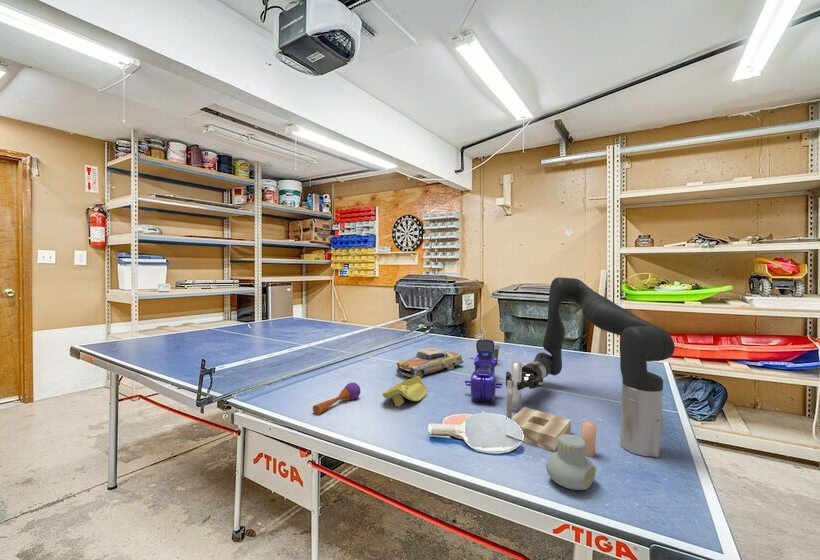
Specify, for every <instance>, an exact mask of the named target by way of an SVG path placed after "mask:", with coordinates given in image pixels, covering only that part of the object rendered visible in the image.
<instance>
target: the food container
mask: <svg viewBox="0 0 820 560" xmlns="http://www.w3.org/2000/svg"><path fill="white" fill-rule="evenodd" d="M500 346H501V345H500V344H494V352H493V354H492V355H493V356H494V358H495V359H499V351H500V349H501V347H500ZM478 354H479V353H477V355H478ZM482 354H484V355H485V353H482ZM487 355H488V354H487ZM498 361H499V360H496V366H497V365H498Z"/></svg>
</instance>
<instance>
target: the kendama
mask: <svg viewBox="0 0 820 560" xmlns="http://www.w3.org/2000/svg"><path fill="white" fill-rule="evenodd" d="M360 394H361V387H360V385H359V384H358V383H357V382H349V383H347V384H346V385H345V387H344V388H343V389H342V390H341V391H340V393H339V394H338V396H336V397H334V398H331V399H327V400H326V401H323V402H319V403H316V404H314V405H313V407H312V411H313V414H314V415H317V416H320V414H321V413H323V412H324V411H326V410H327V409H328V408H330V407H332V406H333V405H334V404H336V403H337V402H338V401H349V400H350V401H351V400H352V401H353V400H357V399H358V398H359V397H360Z"/></svg>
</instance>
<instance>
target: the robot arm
mask: <svg viewBox="0 0 820 560" xmlns="http://www.w3.org/2000/svg"><path fill="white" fill-rule="evenodd" d="M548 292H549V294H548V306H547V321H546V322H547V324H546V328H545V333H544V338H543V341H542V348H543V349H544V351H547V352H548V353H549V354H548V353H546V352H538V353H537V354H536V356H535V357H534V360H533V361H530V362H528V363H526V364H524V365H523V366H522V380H521V382H519V383H518V384H517V390H521V391H522V390H524V389H527V388H528V389H530V390H534V389H539V388H542V387H543V386H544V379H545V378H546V377H548V376H549V375H551V376H557V375H559V374H560V373H561V372H562V368H563V359H562V349H563V348H562V347H563V345H564V341H565V340H564V339H565V335H566V334H565V333H566V332H565V331H566V329H565V326H564V323H563V320H562V317H561V315H560V314H561V313H560V306H561V303H573V304H578V305H579V306H581V311H582V315H583V318H585V319H586V320H587V321H588V322H589V323H591V324H592V325H593V326H595V327H596V328H597V329H600V330H601V331H604V332H608V333H610V334H613V335H617V336H619V337H620V339H619V359H620V360H619V363H620V364H619V365H620V367H619V369H620V372H621V377H622V384H621V386H622V387H621V407H620V408H621V409H620V410H621V412H620V430H619V431H620V435H619V445H620V446H621V448H623V450H624V449H625V450H626V451H627V452H630V453H633V454H634V455H635V454H636V455H639V456H643V457H653V458H659V457H660V454H661V450H662V435H663V434H662V432H663V398H664V397H663V396H664V395H663V394H664V392H663V391H664V380H663V378H662V377H661V375H660V376H659V374H656V373H654V372H650V371H648V364H647V362H660V361H664V360H668V359H670V358H671V357H672V356H673V355H674V352H675V350H676V349H675V348H676V346H675V342H674V339H673V337H672V336H671V335H670V333H669V332H668V331H667V330H665V329H664V328H663V327H660V326H658V325H656V324H654V323H651V322H649V321H647V320H644V319H643V318H640V317H639V316H637V315H634V314H633V313H631V312H630V311H628V310H627V309H625V308H623V307H621V306H620V305H618V304H617V303H616V302H614V301H612V300H610V299H609V298H607V297H605V296H603V295H601V294H600V293H598V292H596V291H594V290H593V289H592V288H590V287H589V286H588V285H587V284H586V283H585V282H583V281H582V280H580V279H578V278H576V277H575V278H573V277H572V278H571V277H560V276H559V277H558V276H557V277H555V278H554V279H553V280H552V281H551V284H550V287H549V291H548ZM505 373H506V374H505V386H506V388H507V381H512V372H510V371H506V372H505Z"/></svg>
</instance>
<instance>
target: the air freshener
mask: <svg viewBox="0 0 820 560" xmlns="http://www.w3.org/2000/svg"><path fill="white" fill-rule="evenodd" d="M545 469H546V472H547V475H548V476H549V478H551V479H552V480H553V482H554V483H557V485H559V486H561V487H563V488H566V489H570V490H574V491H583V490H588V488H590V487H591V485H592V483H594V479H595V477H596V473H597V469H596V466H595V465H594V463H593V462H592V461H591V459H589V458H588V457H587V456H586V442H585V441H584V440H583V439H582V437H580V436H577V435H574V434H571V433H570V434H564V435H561V436H559V437H558V449H557V450H556V451H555V452H553V453H552V454H551V455H550V456H549V458H548V460H547V462H546V466H545Z"/></svg>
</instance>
